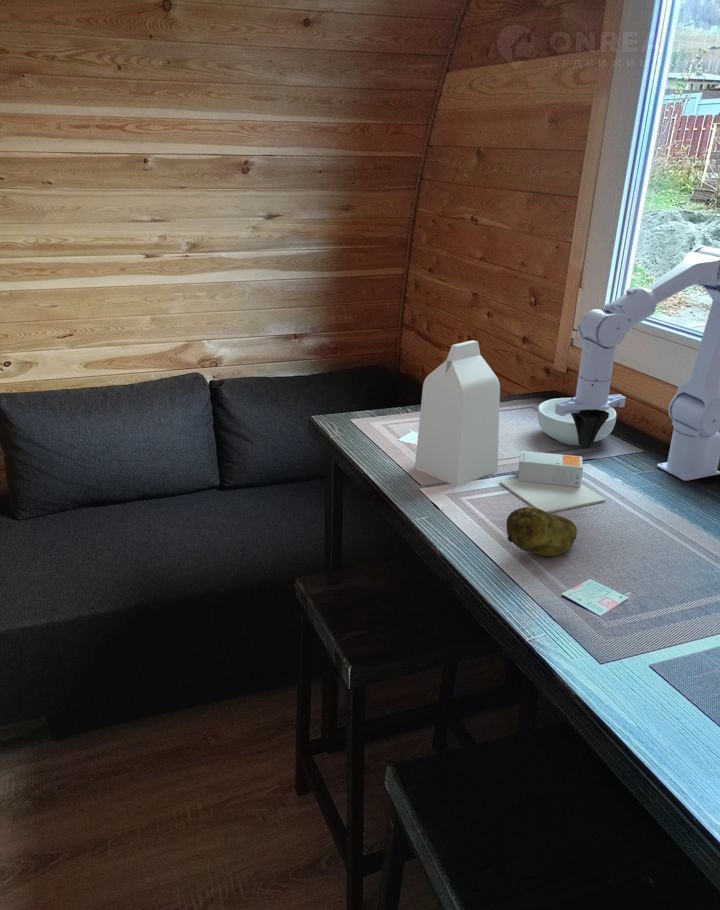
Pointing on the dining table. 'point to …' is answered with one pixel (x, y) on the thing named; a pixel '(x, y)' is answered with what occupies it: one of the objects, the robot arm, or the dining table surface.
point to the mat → (552, 495)
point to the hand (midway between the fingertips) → (584, 446)
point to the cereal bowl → (568, 423)
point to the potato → (540, 531)
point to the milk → (459, 418)
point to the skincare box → (550, 468)
